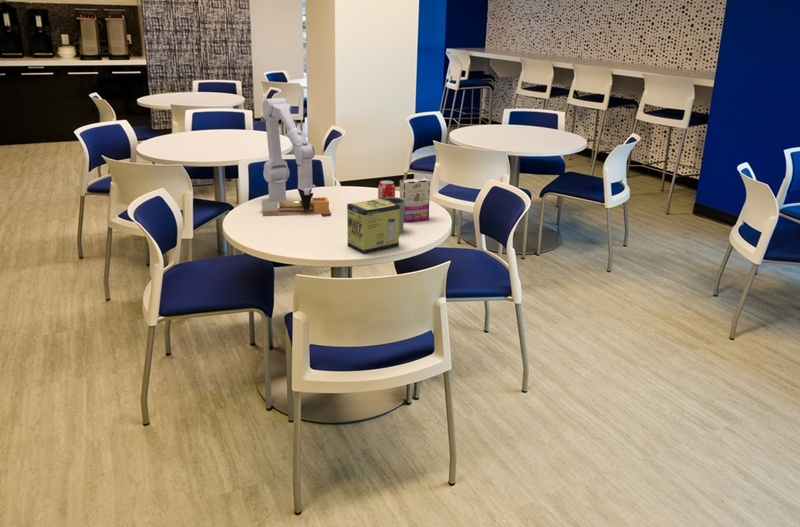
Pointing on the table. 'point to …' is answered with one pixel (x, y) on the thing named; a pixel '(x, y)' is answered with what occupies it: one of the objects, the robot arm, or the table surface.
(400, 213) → the grey cup
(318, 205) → the socket block
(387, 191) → the soda can
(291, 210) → the base board
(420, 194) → the candy bar box
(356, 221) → the protein box
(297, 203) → the inner tube
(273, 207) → the outer sleeve
